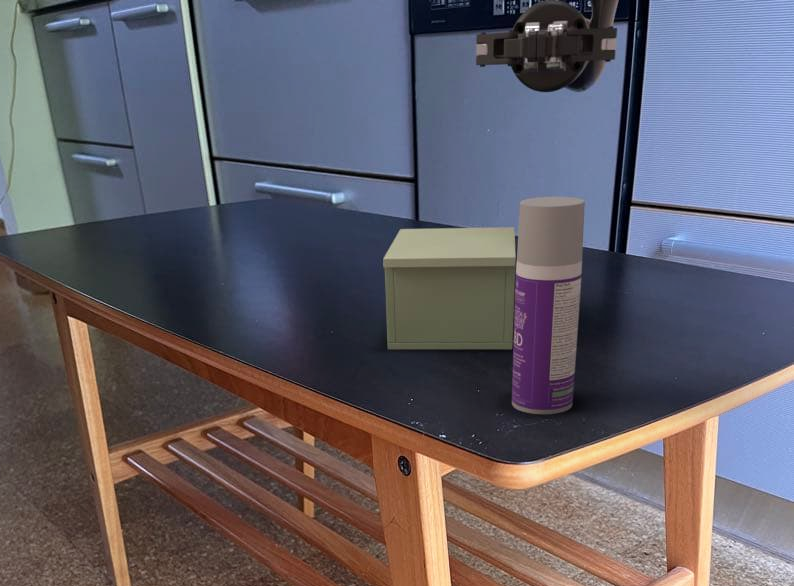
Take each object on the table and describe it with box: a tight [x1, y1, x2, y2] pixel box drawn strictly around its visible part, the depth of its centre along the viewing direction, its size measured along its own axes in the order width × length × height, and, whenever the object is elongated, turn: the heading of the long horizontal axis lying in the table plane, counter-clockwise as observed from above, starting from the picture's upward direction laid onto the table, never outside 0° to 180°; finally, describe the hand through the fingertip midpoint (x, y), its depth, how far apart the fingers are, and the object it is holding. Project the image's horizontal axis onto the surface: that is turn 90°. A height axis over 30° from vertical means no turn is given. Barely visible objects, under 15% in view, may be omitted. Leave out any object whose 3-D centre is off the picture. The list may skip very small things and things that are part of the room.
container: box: [511, 196, 586, 415], centre depth 64 cm, size 5×5×15 cm
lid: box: [382, 226, 517, 269], centre depth 83 cm, size 14×12×1 cm
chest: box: [384, 265, 516, 350], centre depth 85 cm, size 14×12×8 cm
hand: (536, 46), depth 70 cm, fingers closed
